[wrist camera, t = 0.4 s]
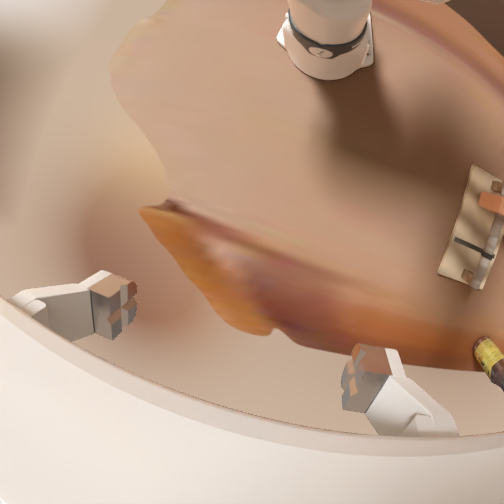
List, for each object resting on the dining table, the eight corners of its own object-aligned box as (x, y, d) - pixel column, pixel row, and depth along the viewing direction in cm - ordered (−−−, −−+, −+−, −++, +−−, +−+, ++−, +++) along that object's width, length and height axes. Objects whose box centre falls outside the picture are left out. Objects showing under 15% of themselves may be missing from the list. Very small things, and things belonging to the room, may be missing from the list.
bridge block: (481, 191, 43) (502, 196, 35) (505, 205, 42) (526, 212, 35) (477, 204, 44) (498, 211, 36) (501, 218, 43) (522, 226, 36)
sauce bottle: (468, 349, 55) (498, 400, 36) (483, 331, 53) (518, 378, 34) (479, 358, 55) (508, 406, 36) (494, 340, 52) (527, 386, 34)
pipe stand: (471, 164, 44) (490, 165, 37) (513, 189, 42) (532, 194, 35) (437, 272, 52) (450, 285, 45) (480, 287, 50) (495, 301, 43)
